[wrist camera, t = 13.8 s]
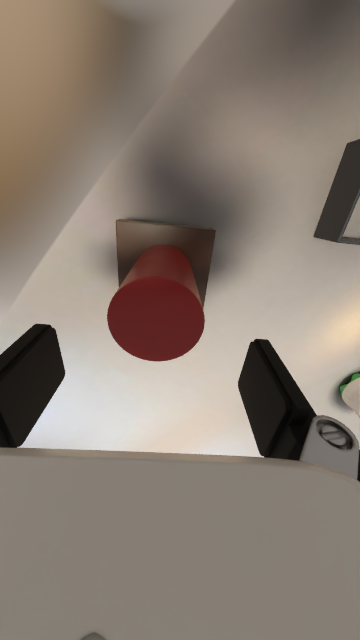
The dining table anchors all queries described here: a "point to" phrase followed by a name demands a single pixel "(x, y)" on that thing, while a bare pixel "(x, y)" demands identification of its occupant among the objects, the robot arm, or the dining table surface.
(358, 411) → the cup
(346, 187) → the dark square frame
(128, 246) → the stool
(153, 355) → the can
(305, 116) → the dining table surface
